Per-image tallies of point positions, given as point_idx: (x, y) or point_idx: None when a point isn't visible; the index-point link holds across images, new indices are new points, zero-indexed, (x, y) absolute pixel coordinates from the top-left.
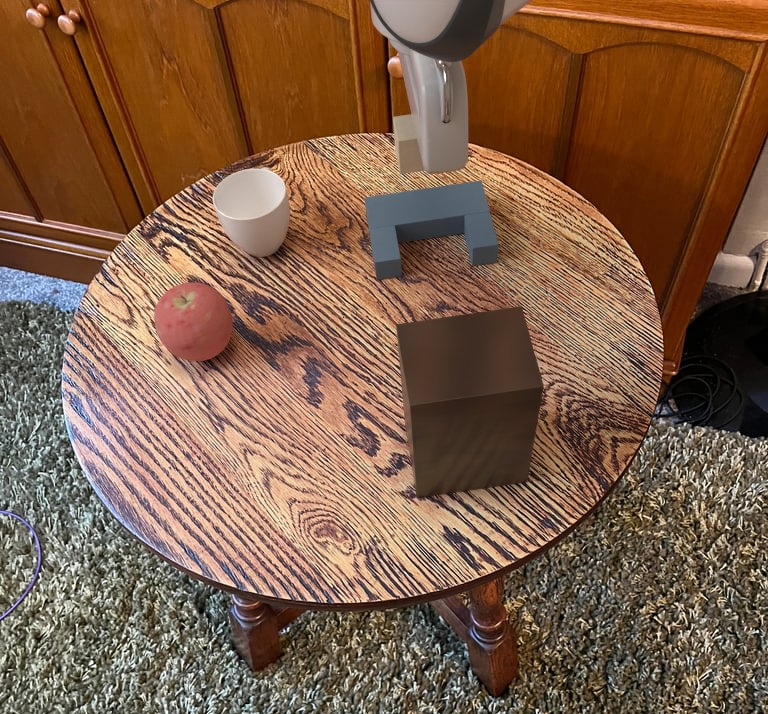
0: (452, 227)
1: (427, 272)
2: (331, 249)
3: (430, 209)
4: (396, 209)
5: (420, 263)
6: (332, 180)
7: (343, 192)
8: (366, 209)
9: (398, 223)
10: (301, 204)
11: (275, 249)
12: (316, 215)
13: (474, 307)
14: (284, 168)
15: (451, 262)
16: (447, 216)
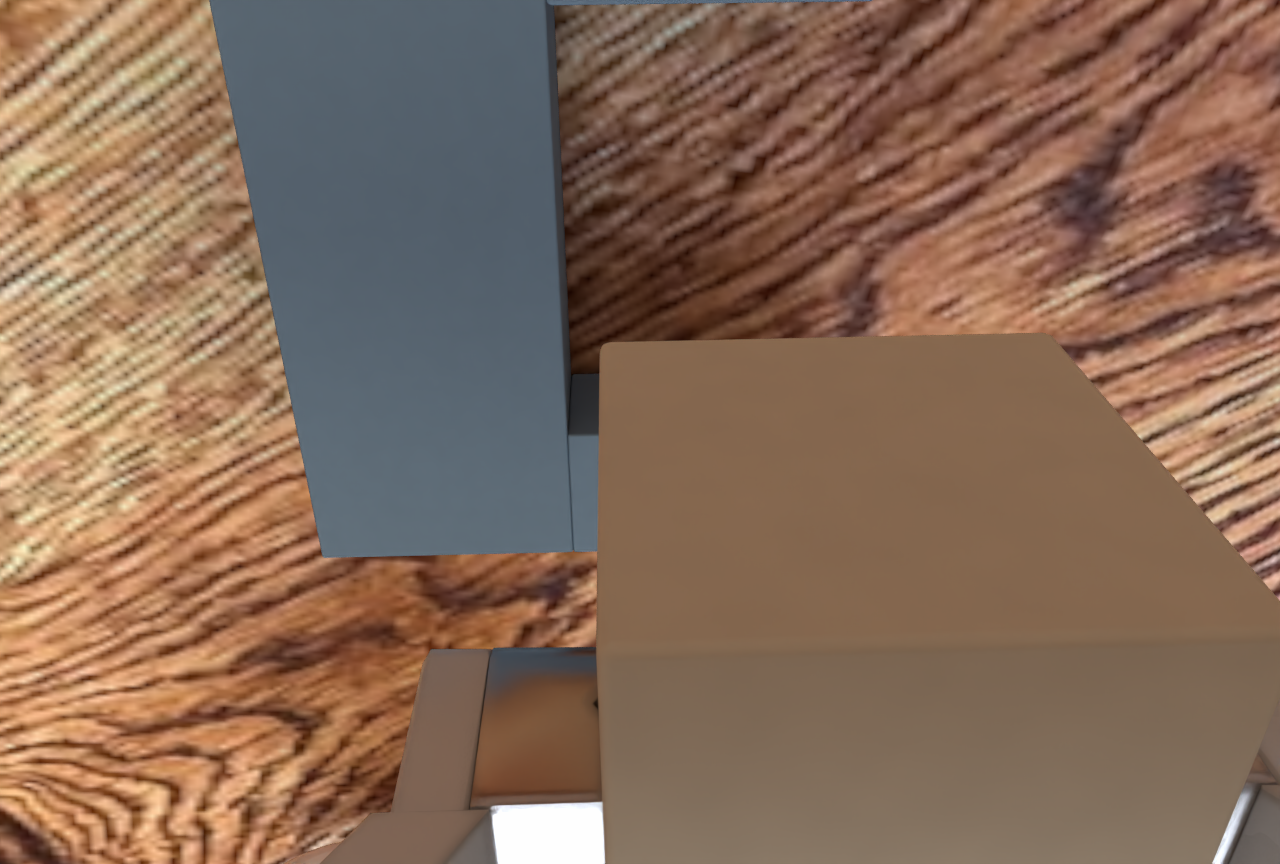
0: (554, 73)
1: (817, 242)
2: (560, 633)
3: (462, 226)
4: (438, 414)
5: (742, 270)
6: (81, 609)
7: (170, 571)
8: (419, 554)
9: (555, 414)
10: (255, 725)
11: None
12: (331, 677)
13: (1161, 20)
14: (11, 775)
15: (777, 100)
16: (543, 127)
